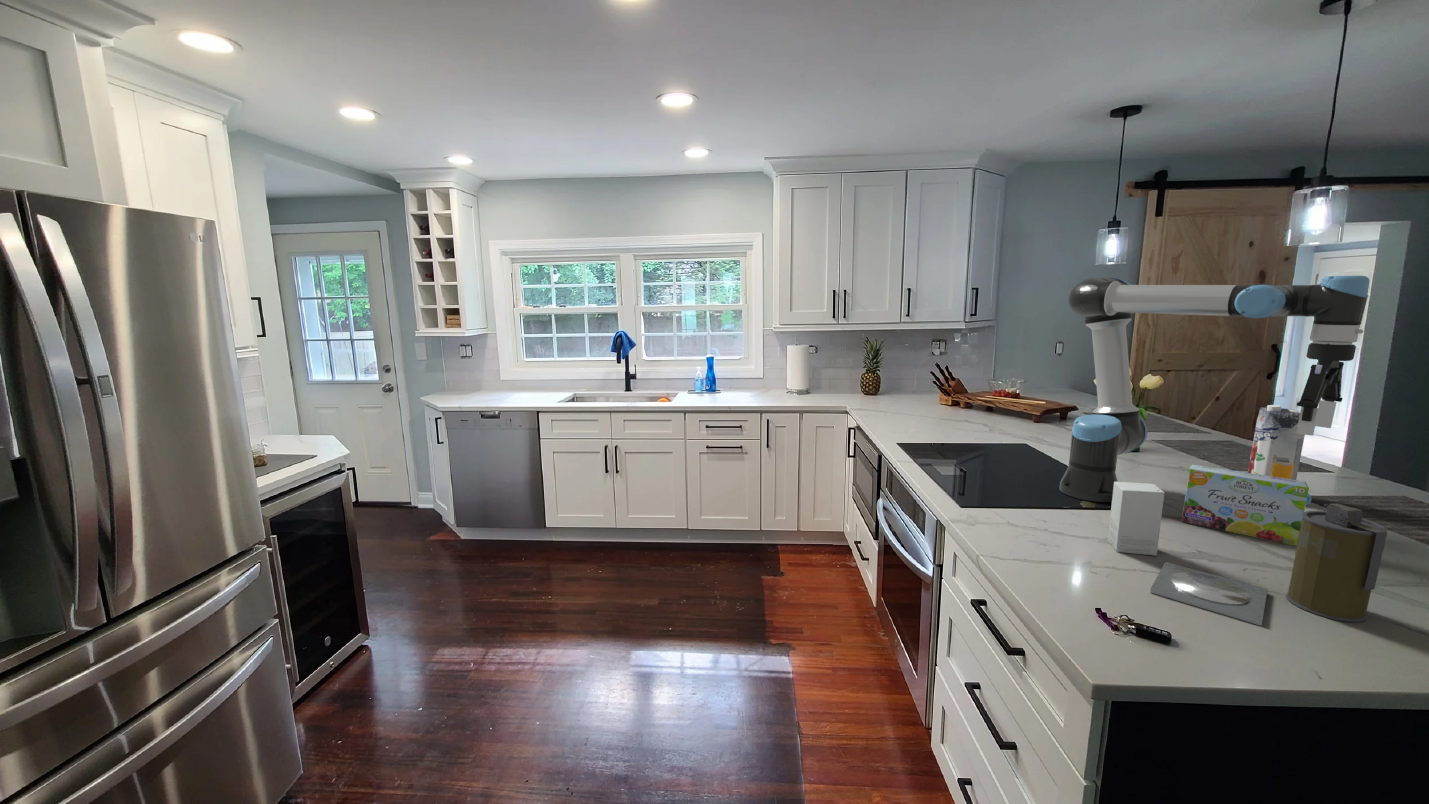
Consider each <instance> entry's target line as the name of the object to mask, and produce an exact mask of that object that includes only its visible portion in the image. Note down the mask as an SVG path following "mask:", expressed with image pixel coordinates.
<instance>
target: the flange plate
mask: <svg viewBox="0 0 1429 804" xmlns="http://www.w3.org/2000/svg"><path fill="white" fill-rule="evenodd" d="M1150 594H1153V595H1157V596H1160V597H1163V598H1167V599H1171V600H1174V601H1177V602H1179V603H1184V604H1187V605H1190V606H1192V607H1193V606H1194V607H1197V608H1200V609H1204V610H1208V611H1209V612H1214V613H1217V614H1220V615H1224V616H1227V617H1230V618H1233V619H1236V620H1240V621H1243V622H1246V623H1250V624H1253V625H1256V626H1261V627H1262V625H1263V620H1264V615H1265V607H1266V601H1267V595H1268V588H1266V587H1262V586H1259V585H1254V584H1251V583H1247V582H1243V581H1240V580H1235V579H1232V578H1228V577H1224V576H1220V575H1216V574H1212V573H1209V572H1204V571H1201V570H1198V569H1193V568H1189V567H1186V566H1182V565H1178V564H1175V563H1171V562H1167V561H1165V562H1164V563H1163V565H1162V567H1161V569H1160V571H1159V573H1158V575H1157V576H1156V578H1155V580H1154V582H1153V583H1152V584H1151V586H1150Z"/></svg>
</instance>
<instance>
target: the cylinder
mask: <svg viewBox="0 0 1429 804" xmlns="http://www.w3.org/2000/svg"><path fill="white" fill-rule="evenodd" d="M1293 469H1294V465H1293V464H1291V463H1286V462H1277V461H1275V462H1272V467H1271V473H1270V476H1272V477H1279V478H1285V479H1292V475H1293ZM1311 502H1312V495H1311V494H1309V492H1308V496H1307V501H1306V505H1305V506H1307V505H1309V504H1311Z"/></svg>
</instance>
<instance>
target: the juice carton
mask: <svg viewBox="0 0 1429 804" xmlns="http://www.w3.org/2000/svg"><path fill="white" fill-rule="evenodd" d="M1299 416H1300V412H1299V411H1298V410H1297V409H1293V408H1283V407H1282V405H1278V404H1270V405H1269V404H1267V406H1264V407H1260V408H1259V411H1258V416H1257V418H1256V423H1255V428H1254V435H1253V440H1252V446H1251V447H1252V448H1251V451H1250V459H1249V464H1248V471H1247V473H1252V474H1259V475H1266V476H1270V473H1271V467H1272V462H1275V461H1277V462H1286V463H1291V464H1293V465H1294V469H1293V475H1292V480H1298V479H1297V477H1298V473H1299V472H1298V471H1299V468H1300V463H1301V462H1300V461H1301V456H1302V451H1303V448H1304V447H1303V446H1304V441H1305V436H1306V435H1305V434H1298V433H1296V431H1297V426H1298V421H1299Z"/></svg>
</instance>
